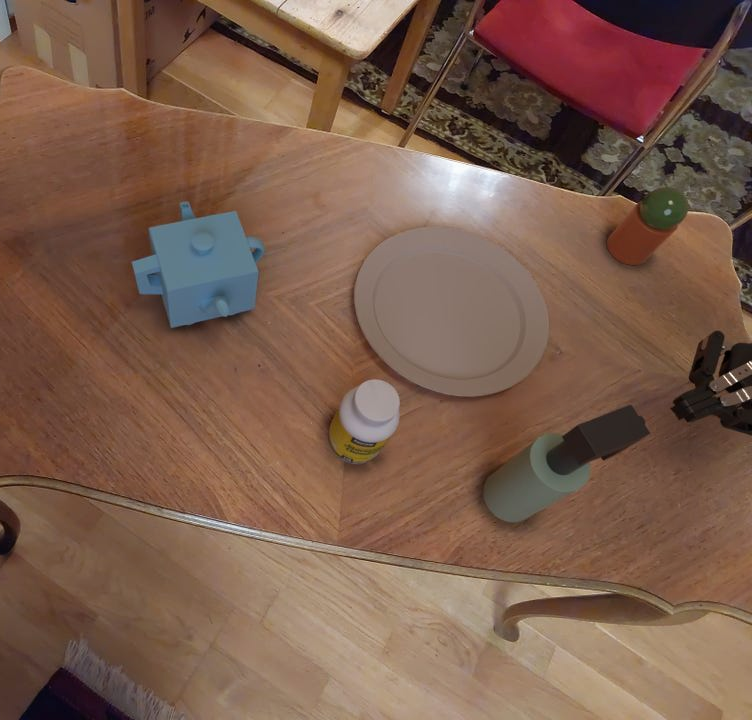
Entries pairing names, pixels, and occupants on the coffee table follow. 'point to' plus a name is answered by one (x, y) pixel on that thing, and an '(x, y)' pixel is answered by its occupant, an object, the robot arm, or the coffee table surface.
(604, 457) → the trigger
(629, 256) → the plant pot
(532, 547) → the coffee table surface
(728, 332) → the coffee table surface
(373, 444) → the pill bottle
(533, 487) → the spray bottle
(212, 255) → the teapot
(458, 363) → the plate
